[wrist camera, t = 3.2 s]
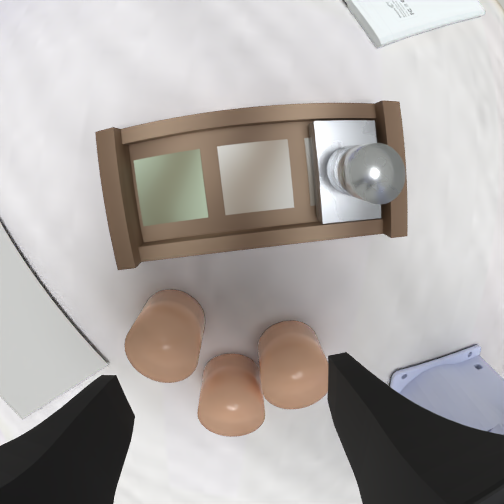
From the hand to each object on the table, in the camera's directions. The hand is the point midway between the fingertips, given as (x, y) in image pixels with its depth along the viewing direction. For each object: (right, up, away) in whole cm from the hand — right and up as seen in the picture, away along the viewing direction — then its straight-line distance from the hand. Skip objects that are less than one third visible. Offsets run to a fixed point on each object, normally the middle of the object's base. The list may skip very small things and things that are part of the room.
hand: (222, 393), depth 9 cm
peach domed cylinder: (-4, 0, +9) cm, 10 cm away
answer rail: (+1, +9, +7) cm, 11 cm away
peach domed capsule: (+3, -2, +10) cm, 11 cm away
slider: (+6, +9, +6) cm, 12 cm away
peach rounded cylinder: (0, -4, +11) cm, 12 cm away
